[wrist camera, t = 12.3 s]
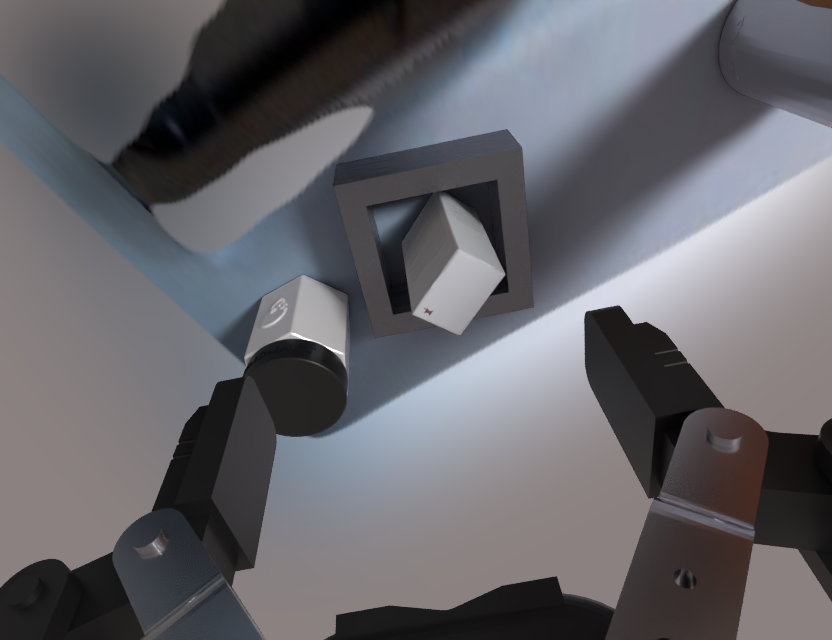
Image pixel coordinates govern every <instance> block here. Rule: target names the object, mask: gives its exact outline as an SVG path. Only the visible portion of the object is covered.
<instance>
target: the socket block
mask: <svg viewBox="0 0 832 640" xmlns="http://www.w3.org/2000/svg"><path fill="white" fill-rule="evenodd" d="M487 181H488V186H489V195H490V204H491V213H492V222H493V231H494V240H495V249H496V255H497V258H498V260H499V262H500V264H501V266H502V268H503V270H504V272H505V276H504V277H503V278H502V280H501V281H500V282H499V284H498V285H497V286H496V288H495V289H494V290H493V292H492V293H491V294H490V296H489V297H488V298H487V300H486V301H485V303H484V304H483V305H482V307H481V308H480V309H479V311H478V312H477V314H476V315H475V316H474V318H473V319H476V318H481V317H486V316H491V315H497V314H502V313H507V312H512V311H517V310H522V309H528V308H533V307H534V303H533V289H532V276H531V262H530V249H529V235H528V221H527V208H526V194H525V181H524V167H523V154H522V147H521V146H520V144H519V143H518V142H517V141H516V139H515V138H514V137H513V136H512V134H511V133H510V132H509V131H508V129H506V130H501V131H496V132H492V133H487V134H482V135H477V136H472V137H467V138H463V139H458V140H453V141H448V142H443V143H438V144H434V145H429V146H424V147H419V148H414V149H409V150H404V151H400V152H395V153H390V154H385V155H380V156H375V157H371V158H366V159H361V160H356V161H351V162H346V163H342V164H337V165H336V170H335V177H334V184H333V187H334V191H335V195H336V198H337V202H338V205H339V209H340V213H341V216H342V220H343V223H344V227H345V231H346V234H347V238H348V241H349V245H350V249H351V252H352V256H353V259H354V263H355V267H356V270H357V274H358V277H359V281H360V285H361V288H362V292H363V295H364V299H365V303H366V306H367V310H368V313H369V317H370V321H371V324H372V328H373V332H374V335H375V338H378V337H383V336H388V335H393V334H399V333H404V332H409V331H414V330H419V329H424V328H430V327H435V326H437V325H435V324H432V323H430V322H428V321H426V320H423V319H421V318H419V317H416V316H414V315H412V310H411V303H410V297H409V289H408V283H402V284H396V285H391V284H390V280H389V276H388V272H387V267H386V263H385V259H384V255H383V251H382V247H381V243H380V238H379V234H378V230H377V226H376V222H375V218H374V214H373V209H372V205H374V204H379V203H384V202H389V201H394V200H399V199H404V198H409V197H414V196H418V195H423V194H428V193H433V192H438V191H443V190H448V189H453V188H458V187H463V186H468V185H473V184H477V183H482V182H487Z"/></svg>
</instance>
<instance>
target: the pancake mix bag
mask: <svg viewBox="0 0 832 640" xmlns="http://www.w3.org/2000/svg"><path fill="white" fill-rule="evenodd" d="M797 1H800V2H802V3H805V4H807V5H810V6H815V7H822V8H828V9H832V0H797Z"/></svg>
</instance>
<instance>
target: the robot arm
mask: <svg viewBox="0 0 832 640" xmlns="http://www.w3.org/2000/svg"><path fill="white" fill-rule="evenodd" d="M719 62H720V67H721V71H722V73H723V75H724V77H725V80H726V81H727V83H728V84H729V85H730V86H731V87H732V88H733V89H734V90H736V91H738V92H739V93H741V94H743V95H745V96H748V97H751V98H753V99H756V100H759V101H761V102H764V103H767V104H769V105H772V106H774V107H777V108H779V109H782V110H785V111H788V112H790V113H793V114H796V115H798V116H801V117H804V118H806V119H809V120H812V121H814V122H817V123H820V124H822V125H825V126H828V127H831V128H832V9H828V8H822V7H815V6H810V5H807V4H805V3H802V2H800V1H797V0H738V1H737V2H736V3H735V5H734V7H733V9H732V10H731V12H730V14H729V16H728V18H727V20H726V23H725V25H724V28H723V31H722V35H721V40H720V44H719ZM584 324H585V367H586V373H587V377H588V381H589V384H590V386H591V388H592V390H593V392H594V394H595V396H596V398H597V400H598V402H599V404H600V406H601V408H602V410H603V412H604V413H605V415H606V417H607V419H608V421H609V423H610V425H611V427H612V429H613V431H614V433H615V435H616V437H617V439H618V441H619V443H620V444H621V446H622V448H623V450H624V452H625V454H626V456H627V458H628V460H629V462H630V464H631V466H632V467H633V470H634V471H635V473H636V475H637V477H638V479H639V481H640V483H641V485H642V487H643V488H644V491H645V493H646V495H647V497H648V498H654V499H653V501H652V504H651V506H650V509H649V512H648V515H647V518H646V520H645V524H644V527H643V529H642V532H641V535H640V538H639V541H638V544H637V547H636V550H635V553H634V556H633V559H632V562H631V565H630V567H629V571H628V573H627V576H626V579H625V582H624V585H623V588H622V591H621V594H620V597H619V600H618V603H617V606H616V609H614V608H611V607H609V606H607V605H605V604H603V603H601V602H598V601H595V600H592V599H589V598H586V597H581V596H576V595H571V594H562V592H561V589H560V585H559V582H558V579H557V577H550V578H545V579H538V580H533V581H527V582H521V583H516V584H510V585H505V586H501V587H499V588H496V589H494V590H492V591H490V592H488V593H485V594H484V595H481V596H479V597H477V598H475V599H473V600H470V601H468V602H466V603H464V604H462V605H459V606H457V607H455V608H453V609H450V610H432V609H421V608H411V607H400V606H399V607H398V606H385V607H379V608H373V609H367V610H363V611H356V612H350V613H345V614H339V615H336V633H335V634H334V635H332V636H330V637H328V638H326V639H325V640H736V638H737V632H738V627H739V621H740V615H741V610H742V604H743V598H744V592H745V587H746V581H747V576H748V570H749V564H750V559H751V553H752V547H753V543H754V544H762V545H770V546H778V547H787V548H796V549H798V550H799V552H800V553H801V555H802V556H803V558H804V560H805V561H806V563H807V564H808V566H809V567H810V569H811V570H812V572H813V573H814V575H815V576H816V578H817V580H818V581H819V583H820V584H821V586H822V587H823V589H824V590H825V592H826V593H827V595H828V596H829V598H830V599H831V601H832V419H830V420H828V421H827V422H826V423H825V424H824V425H823V426H822V428H821V431H820V434H819V435H805V434H791V433H778V432H770V431H765V430H764V429H763V428H762V426H760V424H759V423H757V422H756V421H755V420H753V419H752V418H750V417H749V416H747V415H745V414H743V413H740V412H738V411H735V410H731V409H726V408H724V406H723V405H722V404H721V403H720V401H719V400H718V399H717V398H716V396H715V395H714V394H713V392H712V391H711V390H710V389H709V387H708V386H707V385H706V384H705V382H704V381H703V380H702V378H701V377H700V376H699V375H698V373H697V372H696V371H695V370H694V368H693V367H692V366H691V365H690V364H688V363H687V360H686V358H685V357H684V356H683V354H682V353H681V352H680V351H678V348H677V347H676V346H675V344H674V343H673V342H672V340H671V339H670V338H669V337H668V335H667V334H666V333H664V332H663V331H661V330H659V329H658V328H656V327H654V326H652V325H651V324H649V323H647V322H644V323H639V324H633V323H632V321H631V320H630V318H629V317H628V316H627V314H626V313H625V312H624V310H623V309H622V308H621V307H620V306H613V307H607V308H603V309H598V310H593V311H587V312H586V313H585V319H584ZM275 450H276V431H275V426H274V423H273V420H272V418H271V416H270V414H269V411H268V409H267V407H266V405H265V403H264V400H263V398H262V396H261V394H260V392H259V390H258V387H257V385H256V383H255V381H254V380H253V378H252V377H250V376H246V377H241V378H236V379H231V380H226V381H221V382H218V383H217V384H216V386H215V389H214V392H213V395H212V397H211V400H210V403H209V405H207V406H201V407H199V408H198V410H197V411H196V412H195V413H194V414H193V415H192V417H191V418H190V419H189V420H188V421H187V423H186V424H185V426H184V429H183V431H182V434H181V436H180V439H179V445H177V447H176V450H175V452H174V454H173V460H171V462H170V465H169V468H168V470H167V473H166V475H165V478H164V480H163V483H162V486H161V488H160V491H159V493H158V496H157V499H156V501H155V504H154V506H153V509H152V512H150V513H148V514H146V515H144V516H142V517H141V518H139V519H138V520H136V521H135V522H134V523H132V524H131V525H130V526H129V527H128V528H127V529H126V530H125V531H124V532H123V534H122V535H121V536H120V538H119V540H118V541H117V543H116V545H115V547H114V550H113V552H111V553H109V554H107V555H105V556H103V557H101V558H98V559H96V560H94V561H92V562H90V563H88V564H85V565H83V566H81V567H79V568H77V569H74V570H72V571H71V570H70V569H69V568H68V567H67V566H66V565H65V564H64V563H63V562H62V561H60V560H56V559H47V560H42V561H39V562H36V563H33V564H31V565H29V566H27V567H26V568H24V569H22V570H21V571H19V572H18V573H16V574H15V575H14V576H13V577H11V578H10V579H9V580H8V581H7V582H6V583H5V584H4V585H3V586H2V587H1V588H0V640H266V639H265V637H264V636H263V634H262V633H261V631H260V629H259V628H258V626H257V625H256V623H255V622H254V620H253V619H252V617H251V616H250V614H249V613H248V611H247V610H246V608H245V606H244V605H243V603H242V602H241V600H240V599H239V597H238V596H237V594H236V592H235V591H234V589H233V588H232V584H233V579H234V574H235V571H240V570H245V569H251V568H254V565H255V559H256V553H257V548H258V543H259V537H260V532H261V527H262V521H263V516H264V510H265V505H266V499H267V494H268V488H269V483H270V477H271V472H272V466H273V461H274V455H275ZM657 497H658V498H657Z"/></svg>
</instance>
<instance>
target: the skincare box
mask: <svg viewBox="0 0 832 640" xmlns="http://www.w3.org/2000/svg"><path fill="white" fill-rule="evenodd" d="M402 250H403V257H404V263H405V270H406V277H407V283H408V289H409V297H410V303H411V310H412V315H414V316H416V317H419V318H421V319H423V320H426V321H428V322H430V323H432V324H435V325H437V326H439V327H441V328H443V329H446V330H448V331H450V332H452V333H455V334H457V335H461V334H462V332H463V331H464V330H465V328H466V327H467V326H468V324H469V323H470V322H471V320H472V319H473V318H474V316H475V315H476V314H477V312H478V311H479V309H480V308H481V307H482V305H483V304H484V303H485V301H486V300H487V298H488V297H489V296H490V294H491V293H492V292H493V290H494V289H495V288H496V286H497V285H498V284H499V282H500V281H501V280H502V278H503V277H504V276H505V272H504V270H503V268H502V266H501V264H500V262H499V260H498V258H497V255H496V253H495V251H494V249H493V247H492V245H491V243H490V240H489V238H488V236H487V234H486V232H485V230H484V228H483V225H482V223H481V221H480V219H479V217H478V215H477V213H476V210H475V209H473V208H472V207H470V206H468V205H466V204H464V203H463V202H461V201H459V200H457V199H456V198H454V197H452V196H451V195H449V194H447V193H445V192H444V191H438V192H433V194H432V195H431V197H430V198H429V200H428V202H427V203H426V205H425V206H424V208H423V209H422V211H421V213H420V214H419V216H418V217H417V219H416V221H415V222H414V224H413V225H412V227H411V229H410V230H409V232H408V233H407V235H406V236H405V238H404V240H403V241H402Z"/></svg>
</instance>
